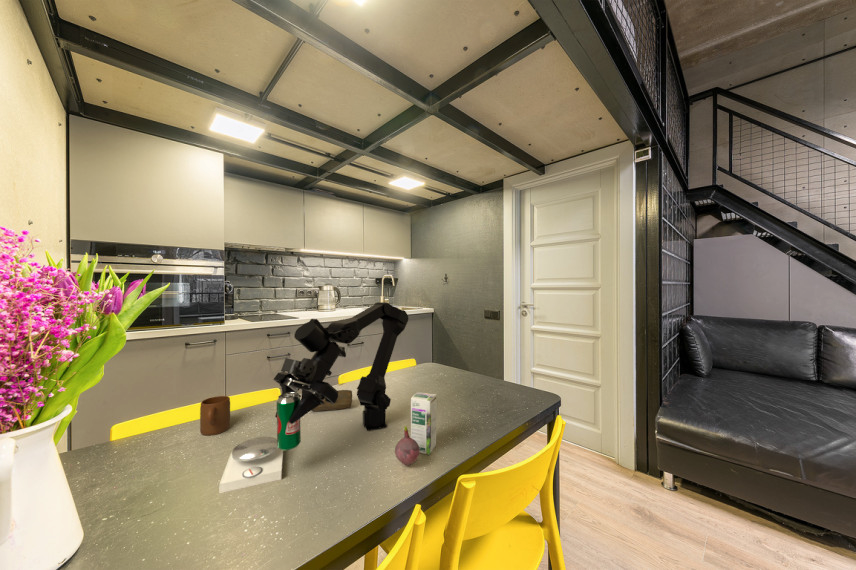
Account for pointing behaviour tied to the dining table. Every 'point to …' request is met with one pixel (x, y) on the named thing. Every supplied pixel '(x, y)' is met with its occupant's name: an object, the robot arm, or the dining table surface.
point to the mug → (214, 415)
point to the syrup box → (424, 421)
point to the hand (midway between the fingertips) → (283, 420)
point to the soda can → (287, 422)
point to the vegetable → (407, 449)
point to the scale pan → (254, 449)
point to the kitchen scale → (251, 472)
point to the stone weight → (337, 402)
